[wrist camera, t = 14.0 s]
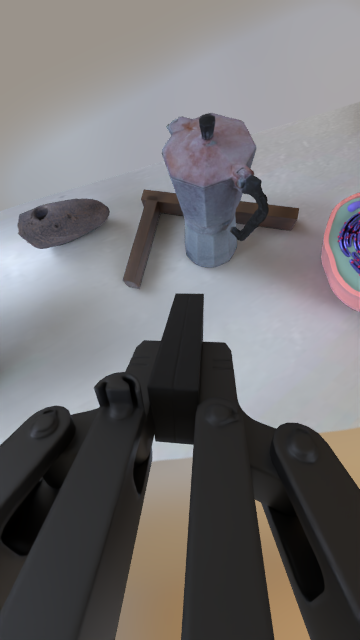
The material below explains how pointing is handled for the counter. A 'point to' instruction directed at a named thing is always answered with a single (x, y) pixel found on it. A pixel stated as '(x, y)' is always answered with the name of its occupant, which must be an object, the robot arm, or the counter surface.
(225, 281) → the counter surface
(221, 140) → the moka pot
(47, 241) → the perforated stone tool
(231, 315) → the counter surface
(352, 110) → the counter surface
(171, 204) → the corner guide
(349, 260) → the cell model
